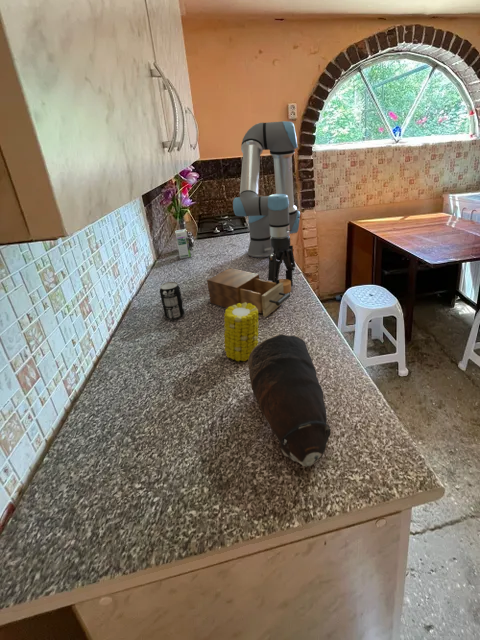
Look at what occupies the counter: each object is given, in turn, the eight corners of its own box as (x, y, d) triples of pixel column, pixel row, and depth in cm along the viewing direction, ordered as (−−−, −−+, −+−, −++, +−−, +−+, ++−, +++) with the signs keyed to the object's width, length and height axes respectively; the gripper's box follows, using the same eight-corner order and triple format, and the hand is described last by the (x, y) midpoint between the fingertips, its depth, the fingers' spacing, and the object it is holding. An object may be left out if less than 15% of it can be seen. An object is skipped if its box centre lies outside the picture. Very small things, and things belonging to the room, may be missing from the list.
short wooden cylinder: (280, 285, 129) (280, 277, 128) (294, 288, 125) (293, 280, 124) (272, 291, 124) (271, 283, 122) (285, 295, 120) (285, 287, 119)
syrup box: (179, 259, 165) (175, 232, 160) (179, 255, 170) (174, 230, 165) (191, 257, 166) (186, 231, 161) (190, 253, 172) (185, 228, 167)
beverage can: (176, 309, 114) (170, 279, 110) (188, 313, 111) (183, 283, 107) (161, 317, 109) (154, 287, 105) (174, 322, 106) (167, 290, 102)
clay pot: (276, 451, 48) (248, 336, 68) (266, 499, 55) (243, 382, 76) (360, 431, 52) (310, 329, 73) (341, 479, 60) (300, 373, 80)
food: (223, 352, 92) (257, 346, 95) (228, 370, 81) (266, 362, 84) (218, 302, 90) (252, 297, 93) (222, 314, 79) (261, 307, 82)
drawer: (294, 304, 111) (293, 285, 109) (276, 320, 103) (275, 299, 100) (255, 294, 121) (253, 276, 118) (235, 307, 112) (233, 288, 109)
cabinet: (260, 297, 120) (258, 274, 117) (239, 312, 110) (237, 287, 107) (232, 289, 128) (229, 267, 124) (210, 302, 118) (206, 279, 114)
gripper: (272, 245, 106) (276, 303, 114) (302, 229, 123) (304, 281, 131) (254, 243, 110) (259, 299, 118) (286, 228, 127) (289, 278, 135)
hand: (283, 289), depth 125 cm, fingers open, 9 cm apart
